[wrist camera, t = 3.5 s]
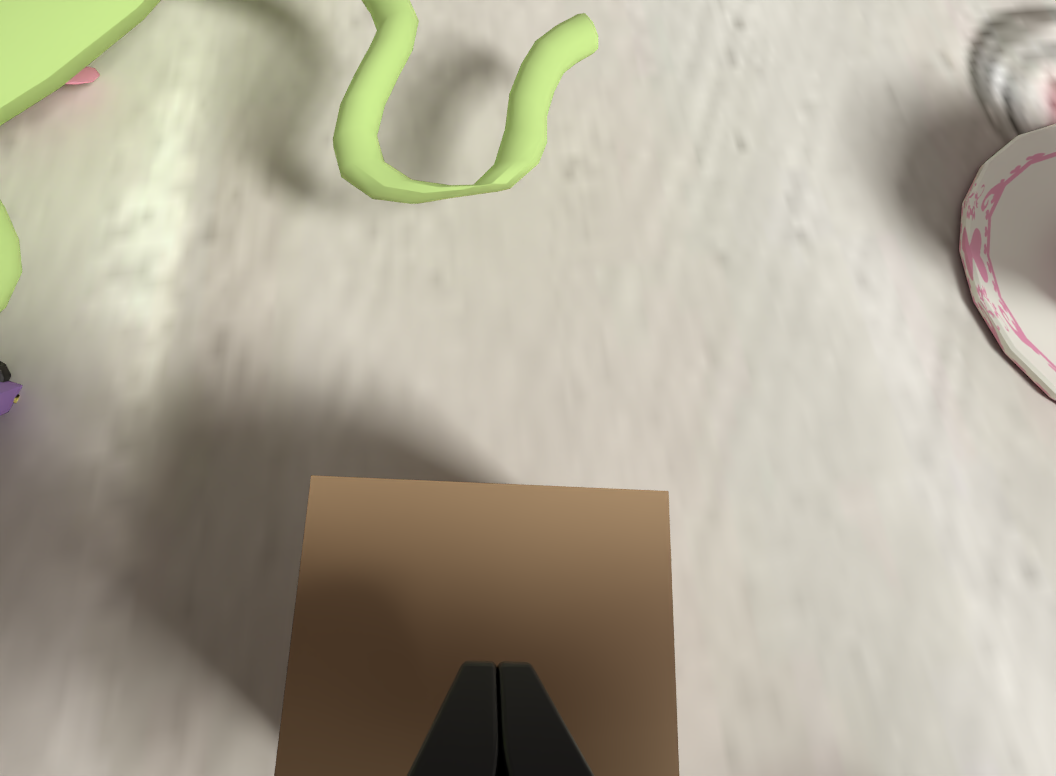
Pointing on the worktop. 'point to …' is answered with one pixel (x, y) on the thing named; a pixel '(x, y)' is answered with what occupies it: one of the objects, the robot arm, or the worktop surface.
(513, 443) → the worktop surface
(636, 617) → the plain block
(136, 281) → the worktop surface
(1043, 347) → the teacup
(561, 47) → the figurine
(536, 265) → the worktop surface
